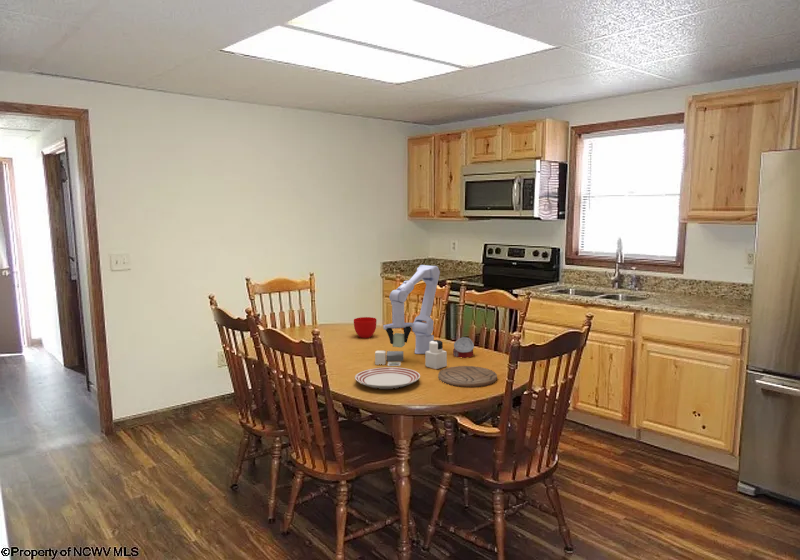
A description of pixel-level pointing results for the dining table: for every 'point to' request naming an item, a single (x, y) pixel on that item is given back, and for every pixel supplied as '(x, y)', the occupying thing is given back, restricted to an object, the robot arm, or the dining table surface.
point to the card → (394, 363)
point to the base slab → (394, 356)
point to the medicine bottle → (436, 355)
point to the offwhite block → (380, 357)
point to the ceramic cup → (365, 326)
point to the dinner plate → (387, 377)
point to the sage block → (398, 340)
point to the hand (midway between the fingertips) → (398, 342)
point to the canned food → (463, 347)
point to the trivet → (467, 376)
